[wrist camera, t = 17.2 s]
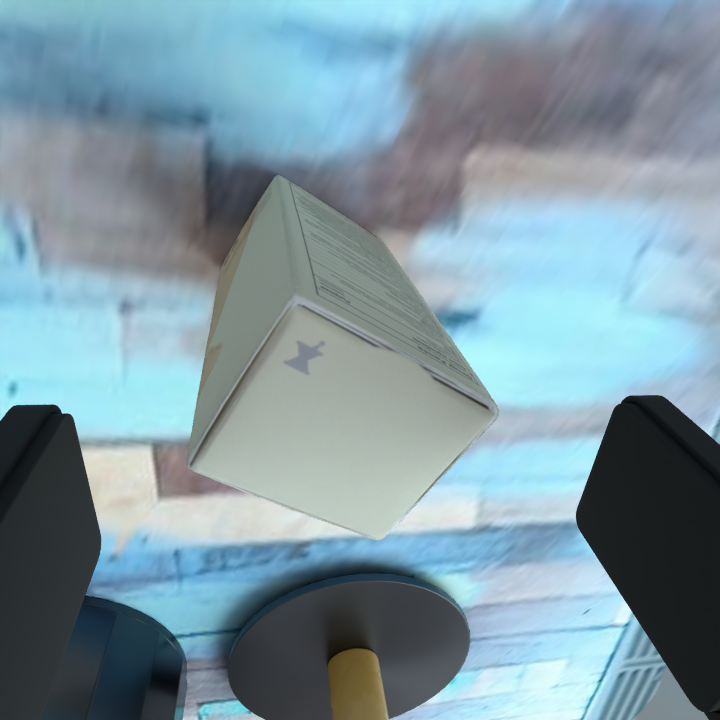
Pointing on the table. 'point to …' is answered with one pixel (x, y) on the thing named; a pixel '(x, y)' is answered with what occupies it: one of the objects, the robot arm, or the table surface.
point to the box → (329, 373)
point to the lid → (349, 649)
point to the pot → (118, 668)
